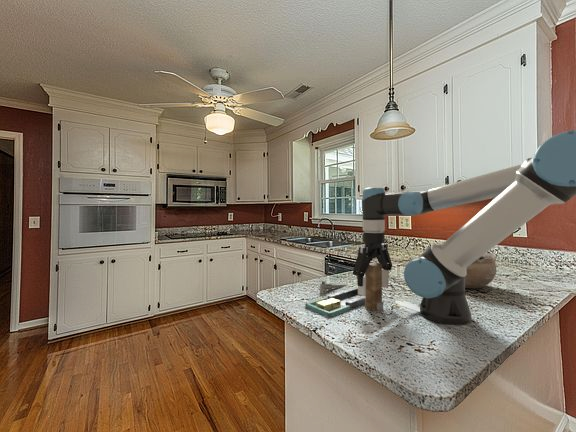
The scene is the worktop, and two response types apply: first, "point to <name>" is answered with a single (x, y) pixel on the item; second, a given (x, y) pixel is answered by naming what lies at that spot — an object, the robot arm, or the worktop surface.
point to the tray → (329, 314)
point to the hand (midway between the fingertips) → (373, 291)
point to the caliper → (329, 286)
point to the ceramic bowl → (481, 271)
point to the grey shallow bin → (349, 298)
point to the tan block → (324, 305)
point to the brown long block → (374, 287)
